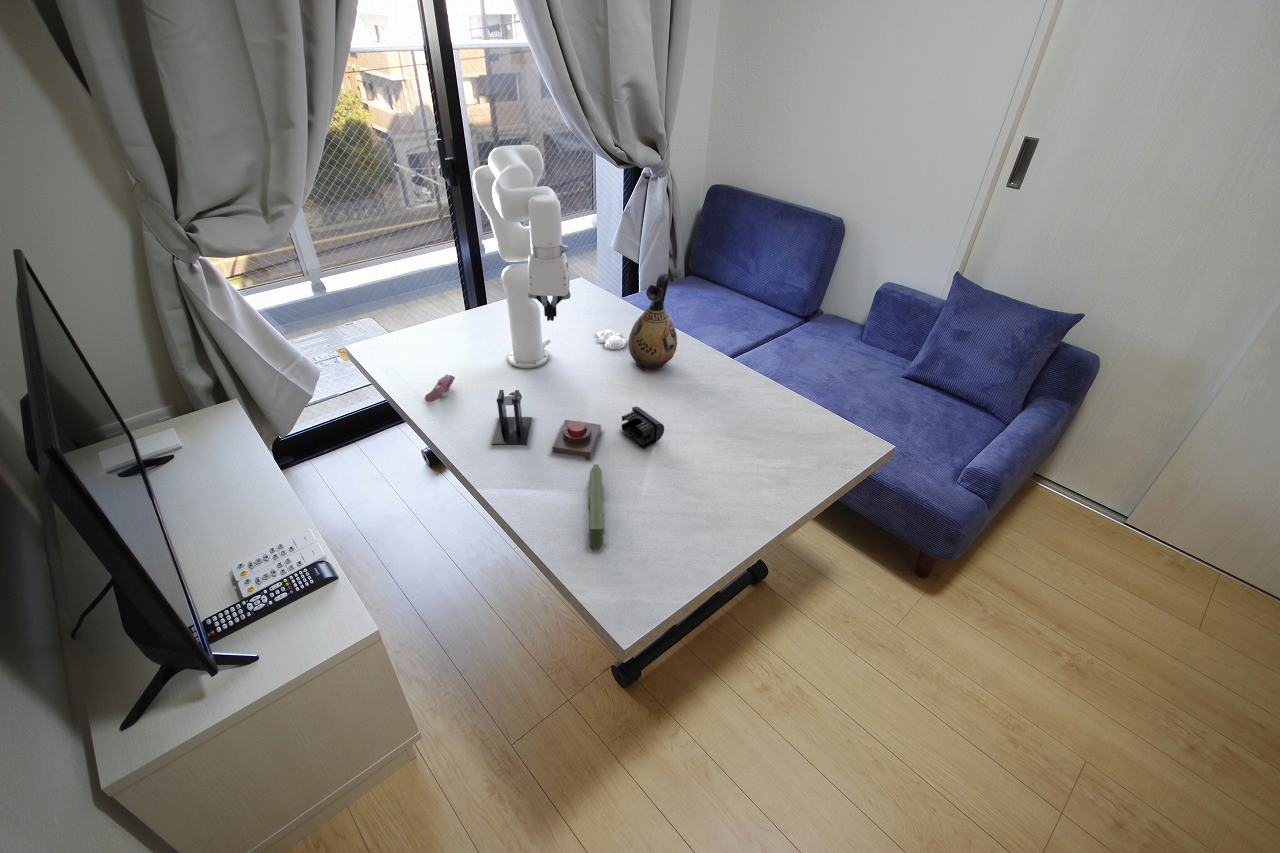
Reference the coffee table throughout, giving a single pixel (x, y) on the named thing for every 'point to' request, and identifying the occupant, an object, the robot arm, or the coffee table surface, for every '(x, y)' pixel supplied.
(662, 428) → the end cap
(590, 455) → the button box
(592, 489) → the handheld radio
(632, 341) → the ceramic jug
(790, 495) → the coffee table surface
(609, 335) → the white fluffy lump
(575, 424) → the button
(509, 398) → the switch lever
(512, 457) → the coffee table surface
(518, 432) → the switch bracket
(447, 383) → the video game controller
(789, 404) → the coffee table surface
